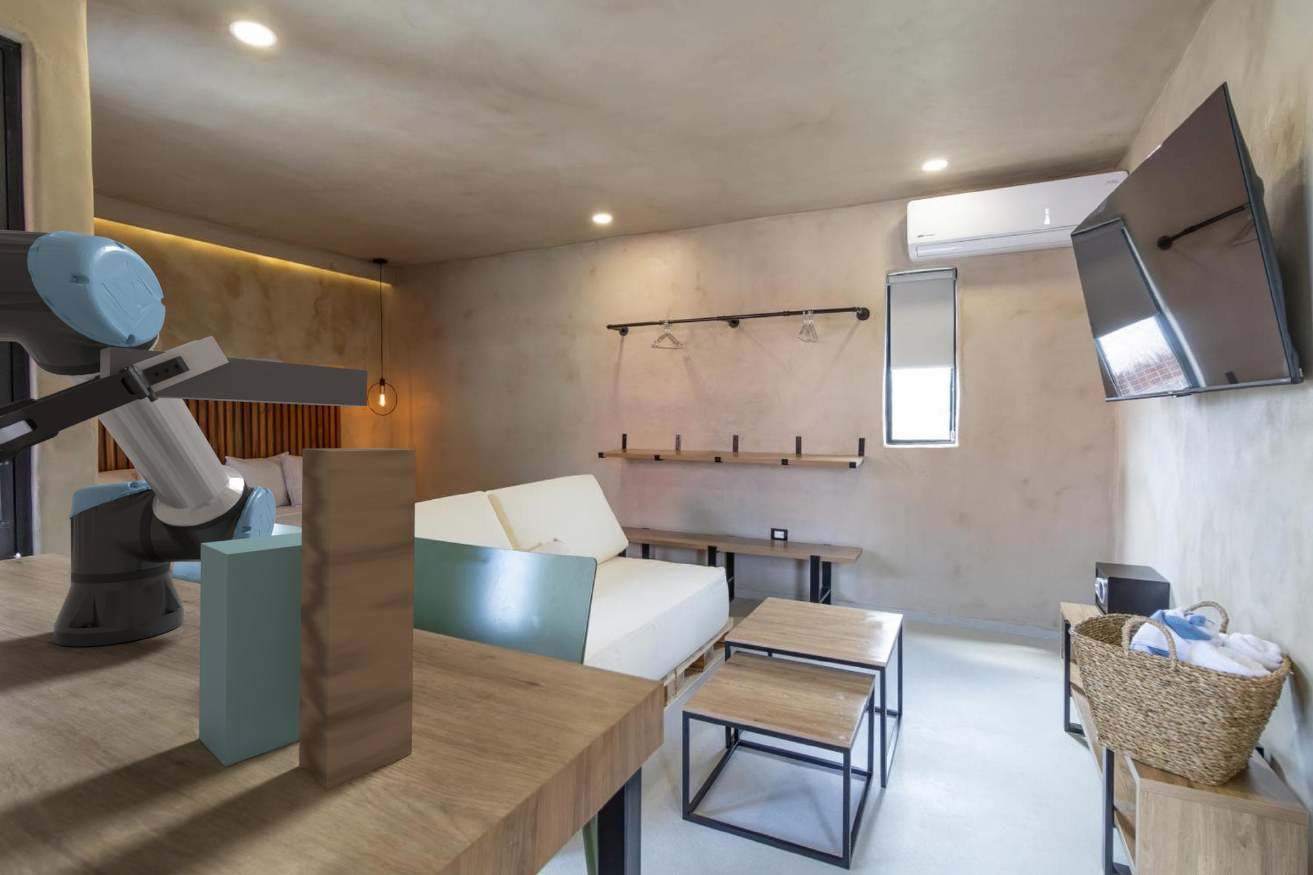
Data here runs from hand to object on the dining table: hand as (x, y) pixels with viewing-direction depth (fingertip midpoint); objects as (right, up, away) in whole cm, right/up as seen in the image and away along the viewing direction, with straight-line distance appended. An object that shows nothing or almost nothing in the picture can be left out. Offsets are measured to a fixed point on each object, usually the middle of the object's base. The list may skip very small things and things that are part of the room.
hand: (210, 351), depth 59 cm
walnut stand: (+14, -39, 0) cm, 42 cm away
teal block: (+3, -39, +5) cm, 40 cm away
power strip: (+2, -5, +3) cm, 6 cm away
